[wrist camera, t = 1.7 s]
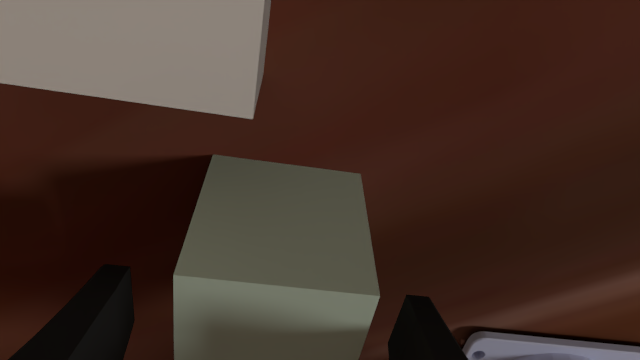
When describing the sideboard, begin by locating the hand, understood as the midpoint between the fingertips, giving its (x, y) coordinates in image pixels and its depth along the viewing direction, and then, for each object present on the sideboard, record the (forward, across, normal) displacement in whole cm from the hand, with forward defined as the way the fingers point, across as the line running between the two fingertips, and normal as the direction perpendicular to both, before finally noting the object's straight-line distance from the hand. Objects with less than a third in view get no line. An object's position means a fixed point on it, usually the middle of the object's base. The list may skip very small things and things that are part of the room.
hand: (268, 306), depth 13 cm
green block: (+4, 0, 0) cm, 4 cm away
